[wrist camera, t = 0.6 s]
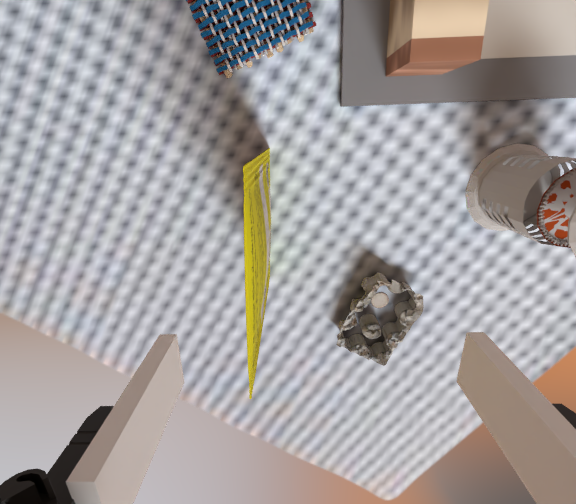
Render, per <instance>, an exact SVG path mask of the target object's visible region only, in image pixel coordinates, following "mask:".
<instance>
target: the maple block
mask: <svg viewBox="0 0 576 504" xmlns="http://www.w3.org/2000/svg"><path fill="white" fill-rule="evenodd" d="M488 5H489V0H390V13H389V29H388V45H387V62H386V77H389V76H414V75H439V74H444V73H447V72H449V71H452V70H454V69H457V68H460V67H462V66H465V65H467V64H470V63H473V62H475V61H478V60H480V59H481V52H482V46H483V39H484V32H485V25H486V19H487V12H488Z"/></svg>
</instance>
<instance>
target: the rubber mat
mask: <svg viewBox="0 0 576 504" xmlns="http://www.w3.org/2000/svg"><path fill="white" fill-rule="evenodd" d="M389 13H390V0H343V17H342V68H341V106H367V105H393V104H420V103H446V102H472V101H499V100H525V99H551V98H576V0H489V5H488V12H487V19H486V25H485V32H484V39H483V46H482V52H481V59H480V60H478V61H475V62H473V63H470V64H467V65H465V66H462V67H460V68H457V69H454V70H452V71H449V72H447V73H444V74H439V75H414V76H389V77H386V62H387V45H388V29H389Z"/></svg>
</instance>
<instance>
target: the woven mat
mask: <svg viewBox="0 0 576 504" xmlns="http://www.w3.org/2000/svg"><path fill="white" fill-rule="evenodd" d="M186 1H187V2H188V4H189V3H191V2H193V3H194V4H193V5H192V6H190V9H191V12H192V13H194V12H196V11H197V12H198V13H195V14H193V15H192V16H193V18H194V20H195V21H196V23H199V22H202V23H201V24H199V25H198V27H199V29H200V31H202V30H204V29H205V30H206V31H205V32H203V33H201V36H202V38H204V40H207V39H208V38H209V39H210V41H209V42H207V43H206V45H207V47H208V49H209V48H211V47H213V48H214V49H212V50H210V51H208V52H209V54H210V55H211V57H214V56H216V55H217V57H218V58H217V59H216V60H214V64H215V65H216V66H217V65H219V64H221V67H219V68H217V72H218V73H219V75H221V74H224V73H225V75H226V77H227V78H231V76H232V73H231V72H233V71H232V69H233V68H235V70H236V69H240V68H242V67H243V64H242V63H244V66H245V65H247V66H248V68H250V67H251V66H252V59H251V58H253V57H255V58H256V59H260V58H261V54H262V56H263V57H264V56H265V54H266V55H267V57H268V58H270V57H272V56H273V53H272V52H273V48H275V47H276V50H277V52H282V51H283V50H284V49H283V46H284V45H285V43H286V44H289V43H291V42H292V41H291V40H294V38H293V37H295V36H296V37H297V39H298V40H299V42H301V41H303V40H304V35H307V34H310V33H312V32H313V28H312V27H314V26H316V23H315V21H314V22H312V21H310V18H311V17H313V14H312V12H310V13H309V12H308V9H309V8H310V7H311V4H310V3H307V4H306V2H304V0H283V2H282V3H280V0H240V1H239V0H186ZM216 1H217V2H218V3H217V2H216ZM257 1H258V3H257V4H256V5H255V2H257ZM232 3H233V5H232V6H231V7H230V6H229V5H230V4H232ZM296 3H297V5H296ZM271 5H272V7H270V6H271ZM292 5H294V8H293V7H292ZM206 6H208V7H206ZM205 7H206V9H205ZM246 7H247V9H246ZM243 9H244V11H243ZM220 10H221V11H220ZM285 10H286V12H284V11H285ZM261 11H262V13H260V12H261ZM236 13H237V14H238V15H236V16H234V15H235V14H236ZM300 14H301V15H300ZM275 15H276V18H275ZM296 15H297V16H298V17H296ZM211 16H212V17H211ZM271 17H272V18H271ZM250 18H252V19H250ZM288 18H289V19H290V21H289V22H288V21H287V19H288ZM247 19H248V20H247ZM263 20H265V22H264V23H262V21H263ZM225 21H226V22H225ZM239 22H241V24H240V25H239V26H238V25H237V23H239ZM278 23H279V26H278ZM299 23H300V25H301V27H299ZM303 23H304V25H303ZM214 24H216V25H215V26H214V28H213V26H212V25H214ZM274 25H275V26H274ZM254 26H255V27H254ZM250 27H251V29H250ZM275 27H276V28H275ZM291 27H293V31H291V30H290V28H291ZM228 28H229V30H228ZM267 29H269V32H266V30H267ZM242 31H245V33H244V34H241V33H240V32H242ZM281 32H282V34H281ZM306 32H307V33H306ZM218 33H219V34H220V35H216V34H218ZM303 33H304V35H303ZM257 34H258V36H259V37H257ZM278 34H279V36H278ZM282 35H283V36H282ZM231 37H232V38H233V40H232V38H231ZM254 37H255V38H254ZM270 38H272V40H273V41H271V42H270V40H269V39H270ZM247 39H248V42H247V43H246V44H245V42H244V41H245V40H247ZM221 42H224V43H223V44H222V45H221V44H220V43H221ZM261 44H262V46H261ZM282 45H283V46H282ZM236 47H237V48H236ZM251 49H252V52H248V50H251ZM226 51H227V52H228V53H226V54H225V53H224V52H226ZM264 52H265V54H264ZM239 54H240V56H241V58H239ZM229 59H231V62H230V63H229V62H228V60H229Z"/></svg>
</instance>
